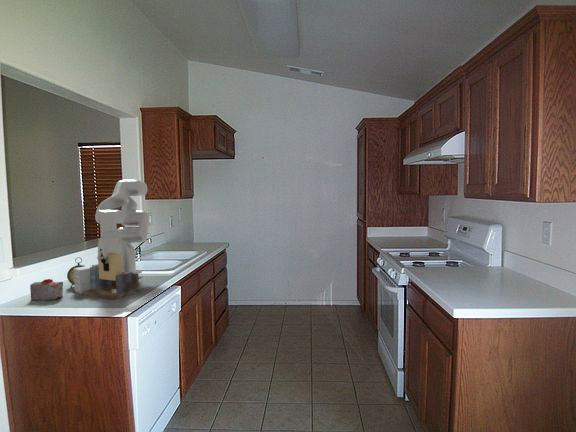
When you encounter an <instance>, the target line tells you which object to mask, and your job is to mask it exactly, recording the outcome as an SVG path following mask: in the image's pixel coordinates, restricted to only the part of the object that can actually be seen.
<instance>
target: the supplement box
mask: <svg viewBox="0 0 576 432" xmlns="http://www.w3.org/2000/svg"><path fill="white" fill-rule="evenodd" d="M84 266H85V267H79V268H74V282H75V285H74V292H76V293H78V294H82V295H83V293H82V292H84V291H87V290H91V280H90V267H91V266H90V265H84Z"/></svg>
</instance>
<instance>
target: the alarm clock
mask: <svg viewBox="0 0 576 432" xmlns="http://www.w3.org/2000/svg"><path fill="white" fill-rule="evenodd" d="M74 259H75V260H74V261H75V263H76V265H74V266H72V267H70V269H69V270H68V272H67V274H66V276H67V277H66V278H67V281H68V282H69V284H71V285H70V288H72V287H73V286H75V282H74V268H79V267H85V266H86V265H84V264H81V263H82V262H83V259H82V257H75V258H74ZM78 259H80V262H77V260H78Z"/></svg>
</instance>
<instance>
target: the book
mask: <svg viewBox="0 0 576 432" xmlns="http://www.w3.org/2000/svg"><path fill="white" fill-rule="evenodd" d="M97 261H98V262H97V264H98V265H99V279H105V280H113V281H116V276H117V275H121V274H122V260H121V254H111V255H109V257H108V263H109V271H104V269H103V263H102V262H101V261H100V260H98V259H97Z"/></svg>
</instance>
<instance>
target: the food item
mask: <svg viewBox="0 0 576 432" xmlns="http://www.w3.org/2000/svg"><path fill="white" fill-rule="evenodd" d="M63 286H64V282H63V281H54V279H51V278H48V279H44V280H42V281H35V282H33V283H31V284H30V285H29V287H30V288H29V289H30V301H43V302H44V301H55V300H58V299H60V298H63V295H64V294H63V293H64V292H63V291H64V289H63Z"/></svg>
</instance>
